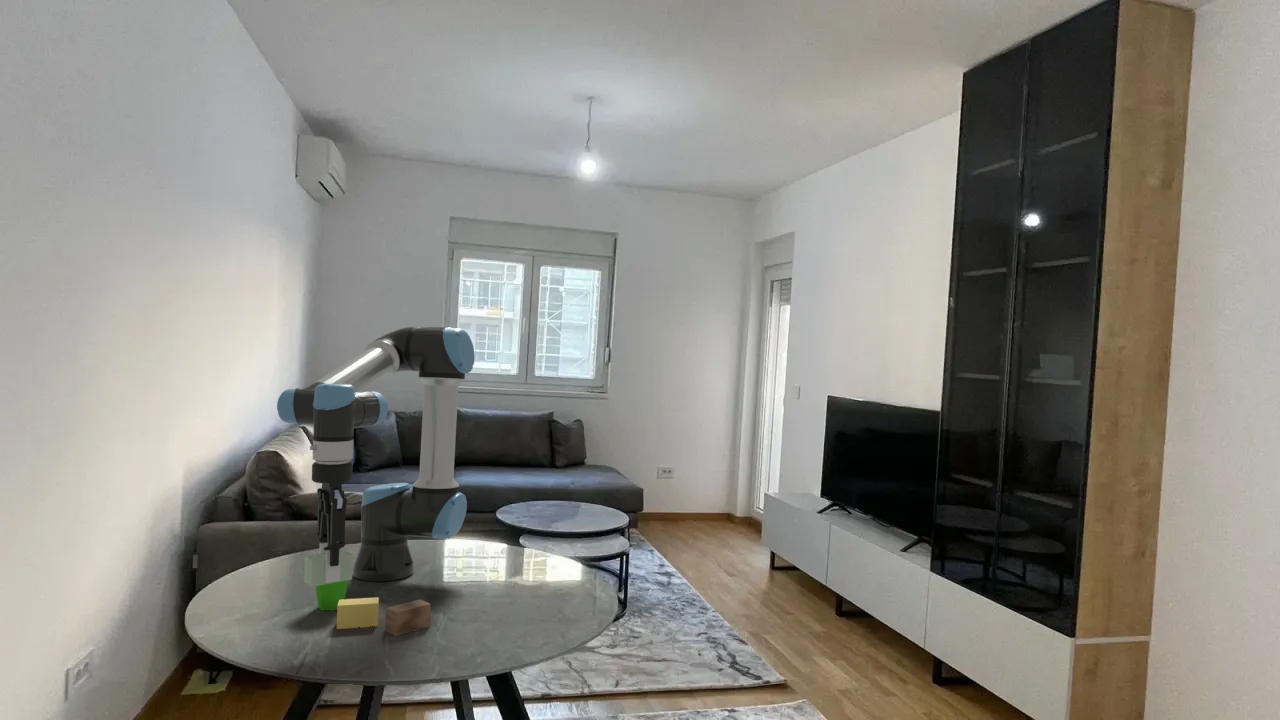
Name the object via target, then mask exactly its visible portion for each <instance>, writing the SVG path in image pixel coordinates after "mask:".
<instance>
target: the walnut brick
mask: <svg viewBox="0 0 1280 720" xmlns="http://www.w3.org/2000/svg"><path fill="white" fill-rule="evenodd" d="M431 610H432V609H431V603H430V602H428V601H425V600H423V599H421V598H420V599H416V600H412V601H409V602H405V603H399V604H395V605H391V606H388V607H385V632H386V633H388V634H390V635H392V636H393V637H399V636H402V635H405V634H404V633H406V634H408V632H409V633H412V632H411V631H413V632H415V631H414V630H417V629H421V630H423V629H422V628H424V629H427V628H426V627H428V628H430V627H431ZM429 626H430V627H429ZM417 631H418V630H417ZM401 634H402V635H401Z"/></svg>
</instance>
